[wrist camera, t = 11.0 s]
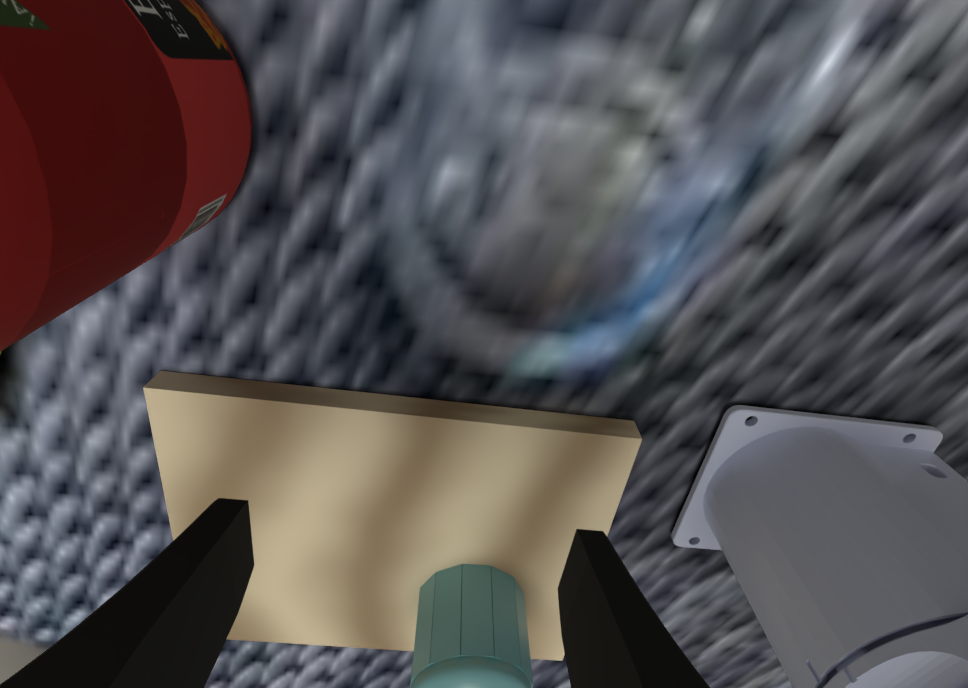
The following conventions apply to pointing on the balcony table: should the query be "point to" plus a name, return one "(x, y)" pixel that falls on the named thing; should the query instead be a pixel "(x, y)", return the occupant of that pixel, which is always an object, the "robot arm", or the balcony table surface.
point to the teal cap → (471, 631)
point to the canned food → (108, 144)
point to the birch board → (383, 499)
